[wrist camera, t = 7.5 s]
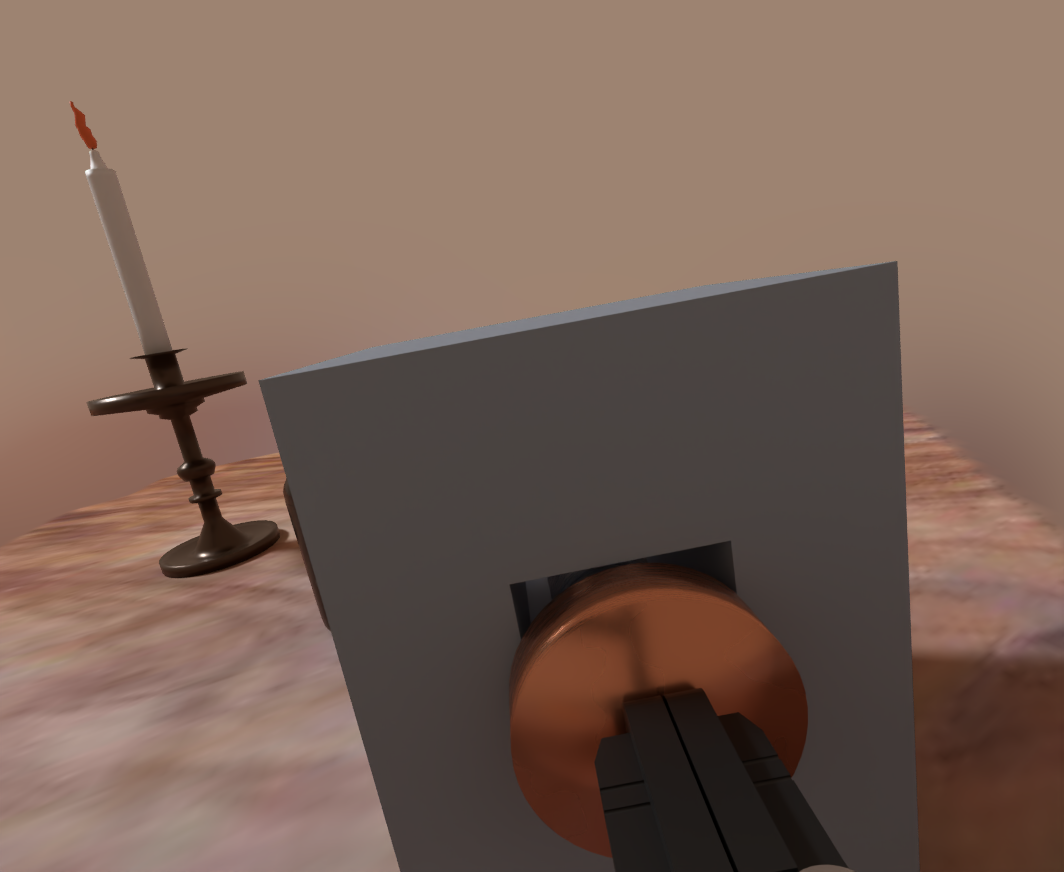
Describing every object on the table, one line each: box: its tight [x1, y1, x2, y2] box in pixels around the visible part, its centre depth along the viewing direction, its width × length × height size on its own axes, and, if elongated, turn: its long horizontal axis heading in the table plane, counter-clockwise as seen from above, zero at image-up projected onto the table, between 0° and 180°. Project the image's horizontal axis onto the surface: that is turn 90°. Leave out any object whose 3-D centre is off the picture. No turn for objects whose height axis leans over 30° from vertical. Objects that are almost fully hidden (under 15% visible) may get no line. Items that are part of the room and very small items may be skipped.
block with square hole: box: [259, 261, 920, 872], centre depth 17 cm, size 10×12×15 cm
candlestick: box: [70, 101, 280, 578], centre depth 45 cm, size 11×11×35 cm
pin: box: [509, 557, 808, 858], centre depth 20 cm, size 20×6×6 cm, turn 4°
